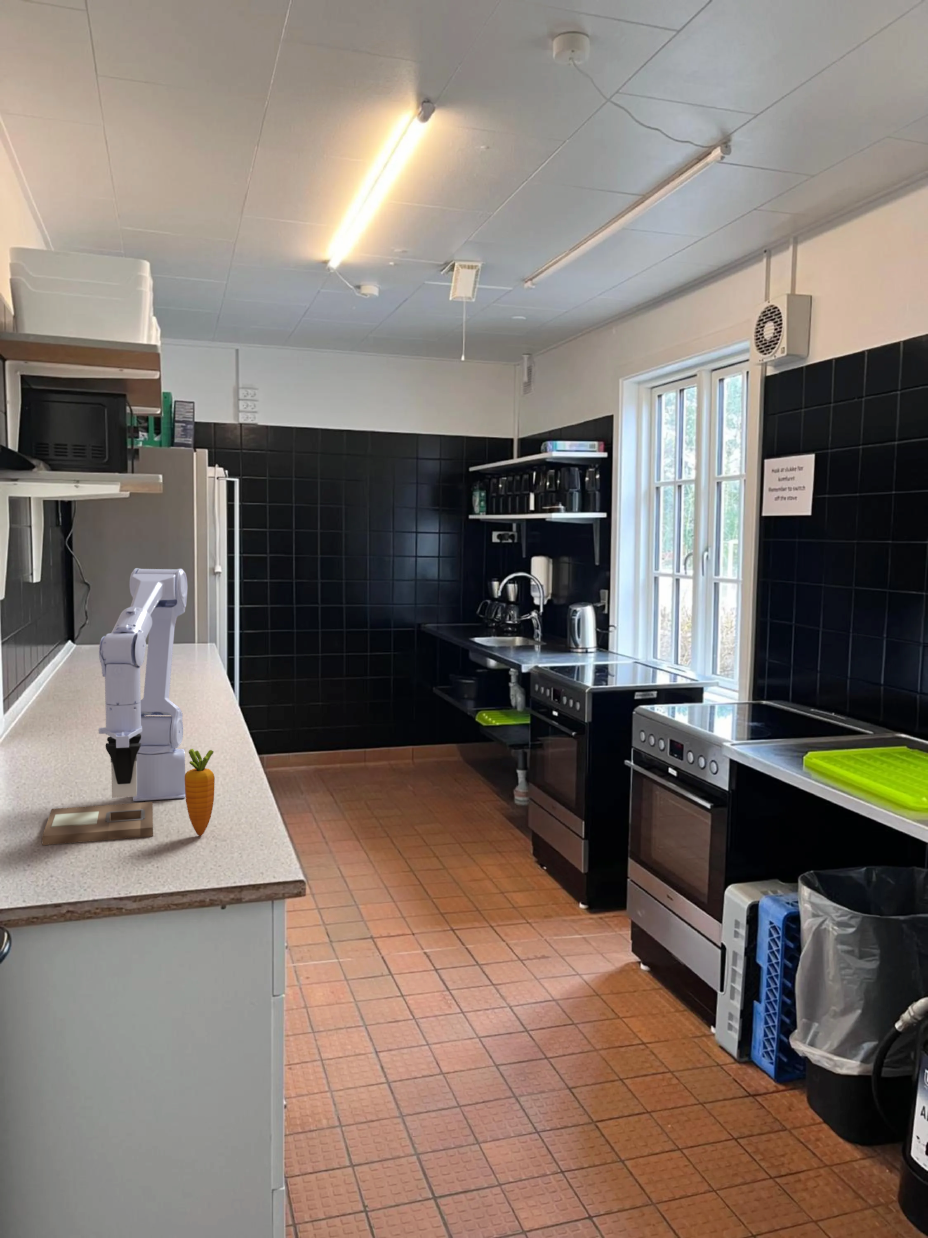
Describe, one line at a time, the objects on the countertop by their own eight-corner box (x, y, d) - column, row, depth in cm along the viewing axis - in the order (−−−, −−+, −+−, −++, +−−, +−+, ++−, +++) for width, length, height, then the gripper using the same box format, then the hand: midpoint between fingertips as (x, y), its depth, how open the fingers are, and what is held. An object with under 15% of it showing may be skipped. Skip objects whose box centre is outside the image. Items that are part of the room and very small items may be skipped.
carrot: (218, 831, 160) (217, 745, 159) (211, 840, 155) (210, 751, 154) (189, 831, 160) (188, 744, 159) (181, 840, 155) (180, 751, 154)
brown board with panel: (152, 809, 172) (152, 800, 172) (153, 836, 157) (152, 826, 157) (52, 817, 167) (51, 807, 167) (42, 845, 152) (42, 835, 151)
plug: (137, 790, 165) (137, 751, 165) (137, 796, 161) (136, 756, 161) (112, 791, 164) (111, 752, 163) (111, 798, 160) (110, 757, 159)
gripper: (100, 696, 167) (101, 771, 168) (95, 711, 153) (97, 792, 154) (142, 695, 169) (143, 769, 170) (141, 709, 155) (142, 789, 157)
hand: (124, 780), depth 162 cm, fingers closed on plug, 4 cm apart
